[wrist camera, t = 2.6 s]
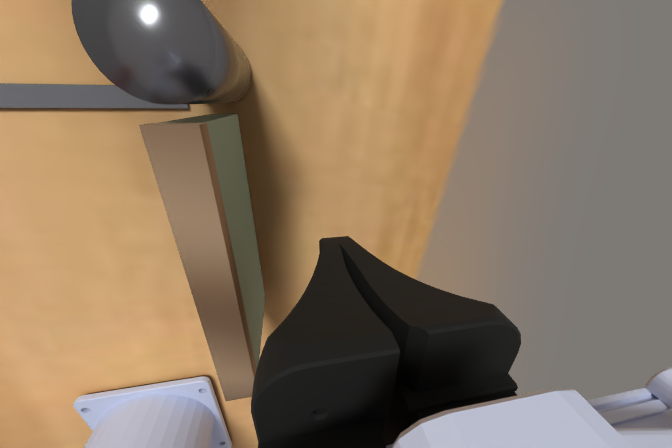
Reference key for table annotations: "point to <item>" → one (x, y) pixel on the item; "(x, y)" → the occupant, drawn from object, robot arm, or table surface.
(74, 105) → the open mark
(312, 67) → the table surface
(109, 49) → the hinge post
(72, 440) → the table surface
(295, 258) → the table surface
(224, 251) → the green and brown panel
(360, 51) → the table surface
